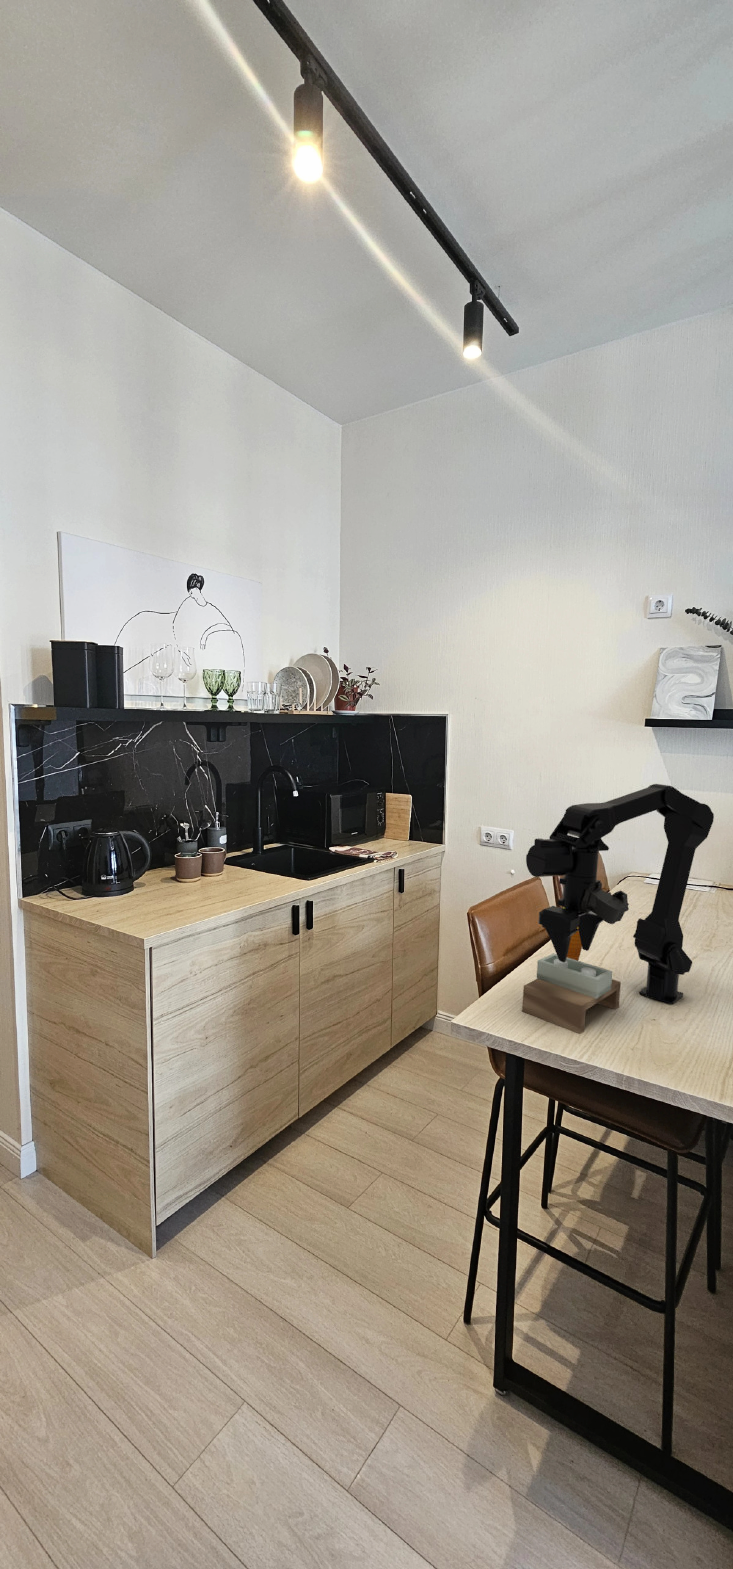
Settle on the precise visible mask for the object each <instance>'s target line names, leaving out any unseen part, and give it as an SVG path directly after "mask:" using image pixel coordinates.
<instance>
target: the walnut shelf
mask: <svg viewBox="0 0 733 1569" xmlns="http://www.w3.org/2000/svg"><path fill="white" fill-rule="evenodd" d="M621 984H622V982H621V981H620V980H616V979H613V978H612V984H611V990H609V991H608V992H606V993H605V994H603V995H601V996H600V997H598V998H597V999H596V998H593V997H590V996H587V995H584V994H581V993H578V992H576V991H573V990H570V989H567V988H564V987H561V986H558V985H555V984H552V983H549V982H546V981H543V980H540V979H538V978H536V979H533V980H531V981H530V982H528V983H526V984H524V985H523V988H522V989H523V991H522V1003H521V1004H522V1006H521V1007H522V1008H521V1011H522V1012H523V1013H525V1014H528V1015H530V1016H533V1017H536V1018H538V1019H541V1020H544V1021H546V1022H549V1023H551V1024H553V1025H557V1026H559V1027H561V1028H565V1029H566V1030H569V1031H572V1032H574V1033H578V1034H582V1033H583V1032H584V1031H585V1024H586V1023H585V1022H586V1011H587V1010H588V1009H590V1008H591V1007H593V1006H595V1005H596V1004H598V1005H602V1006H604V1007H607V1008H611V1009H613V1010H616V1009H618V1008H619V1007H620V995H621V986H622V985H621Z"/></svg>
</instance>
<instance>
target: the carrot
mask: <svg viewBox="0 0 733 1569" xmlns="http://www.w3.org/2000/svg"><path fill="white" fill-rule="evenodd" d="M563 908H564V907H563ZM564 909H565V908H564ZM577 929H578V927H577ZM582 950H583V949H582V945H581V940H580V935H579V931H577V932H576V933H574V934H573V935H572V936H571V939H570V944H569V949H568V954H567V958H571V959H574V960H577V961H579V959H580V957H581V952H582Z"/></svg>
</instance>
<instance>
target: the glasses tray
mask: <svg viewBox="0 0 733 1569" xmlns="http://www.w3.org/2000/svg"><path fill="white" fill-rule="evenodd" d="M536 968H537V969H536V979H540V980H543V981H546V982H549V983H552V984H555V985H558V986H561V987H564V988H567V989H570V990H573V991H576V992H578V993H581V994H584V995H587V996H590V997H593V998H596V999H597V998H598V997H600V996H601V995H603V994H605V993H606V992H608V991H609V990H611V984H612V979H613V971H612V970H609V969H606V968H603V967H600V966H597V965H593V964H590V963H587V962H583V961H579V960H578V961H577V960H574V959H571V958H566V961H565V962H561V961H559V959H558V956H557V954H556V953H551V954H549V955H547V956H545V957H543V958H540V959H538V960H537V966H536Z"/></svg>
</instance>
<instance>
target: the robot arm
mask: <svg viewBox="0 0 733 1569" xmlns="http://www.w3.org/2000/svg"><path fill="white" fill-rule="evenodd" d="M654 811H656V812H657V813H658V814H660V815H661V816H662V817H663V818H664V822H663V829H664V833H665V836H666V840H667V848H666V851H665V854H664V855H665V856H664V860H663V863H662V864H663V865H662V868H661V873H660V876H659V881H658V884H657V885H658V886H657V888H656V893H655V897H654V900H653V905H652V909H651V912H650V913H649V914H648V915H647V916H646V917H645V918H644V919H643V918H638V920H637V922H636V929H635V932H634V934H633V936H632V937H633V938H634V947H635V948H636V950H637V954H638V958H639V960H641V961H644V962H646V963H648V964H647V974H646V975H647V977H646V986H645V987H644V988H642V989H640V990H639V995H641V996H644V997H648V998H651V999H654V1000H657V1001H660V1002H663V1003H666V1004H671V1005H673V1004H674V1003H676V1002H677V1001H678V1000H679V999H681V998H683V997H684V992H681V991H678V990H679V989H678V988H679V980H680V978H679V977H680V975H681V976H684V975H685V973H690V970H691V968H692V965H693V961H692V959H691V958H690V957H689V956H688V954H687V953H686V952H685V951H684V949H683V942H684V933H683V931H682V927H681V924H680V914H681V911H682V907H683V906H682V905H683V903H684V899H685V894H686V891H687V886H688V882H689V877H690V874H691V873H690V872H691V869H692V865H693V861H694V857H695V853H696V850H697V848H698V847H699V846H700V845H701V844H702V843H703V842H704V841H705V840H706V839H707V838H708V836H709V833H710V831H711V829H712V827H713V826H712V825H713V823H714V820H715V818H714V817H715V814H714V812H713V811H712V809H711V807H710V806H709V805H708V804H706V803H701V802H699V801H698V800H696V799H694V798H691V797H690V796H688V795H686V794H684V793H682V792H681V791H680V790H678V789H677V788H675V787H674V786H672V785H668V784H667V785H666V784H660V783H654V784H651V785H649V786H648V787H645V788H643V789H640V790H636V791H633V792H629V793H627V794H625V795H622V796H619V797H617V798H613V799H610V800H608V801H603V802H596V803H595V802H592V803H591V802H590V803H589V802H588V803H579V804H573V805H570V806H568V807H567V808H566V809H565V812H564V814H563V817H562V818H561V819H560V821H558V824H557V825H556V827H555V828H554V830H553V831H552V833H551V834H550V836H549V838H548V839H546V838H545V839H544V838H534V842H533V843H534V845H531V847H530V848H529V850H528V852H527V854H526V855H525V856H526V857H525V863H526V868H527V870H528V872H529V873H530V875H531V876H532V877H534V878H545V877H557V876H558V877H560V878H559V882H558V884H560V885H563V886H562V898H560V899H557V906H555V905H552V906H549V907H546V908H543V909H541V911H540V912H538V922H537V923H538V924H539V925H541V927H542V928H544V930H545V931H546V933H547V935H548V937H549V940H550V941H551V943H552V946H553V950H554V951H555V954H557V956H558V959H559V961H561V962H565V961H566V958H567V954H568V949H569V944H570V939H571V936H572V935H573V934H574V933H576V932H577V931H579V935H580V940H581V945H582V949H581V950H583V951H587V952H588V951H590V948H591V946H592V943H593V941H594V937H595V936H596V933H597V930H598V928H599V925H600V924H601V923H603V922H605V923H607V924H609V925H614V924H615V923H617V922H621V921H622V919H623V917H624V915H625V913H626V912H628V911H629V910H630V909H629V905H630V904H629V902H628V894H627V893H626V892H624V891H622V890H618V891H615V893H613V894H612V892H609V891H608V892H606V891H605V890H603V889H602V888H603V883H602V882H601V880H600V879H598V878H597V877H598V864H599V852H603V851H604V852H606V851H609V849H610V847H609V846H608V845H607V844H606V843H605V842H604V841H603V839H602V838H604V837H606V836H607V835H608V834H610V833H612V832H613V831H614V829H615V827H616V826H618V825H619V824H622V823H624V822H627V821H630V820H632V819H636V818H638V817H641V816H644V815H647V814H649V813H652V812H654ZM562 876H563V877H562ZM564 908H565V909H564ZM577 927H578V929H577Z"/></svg>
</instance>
